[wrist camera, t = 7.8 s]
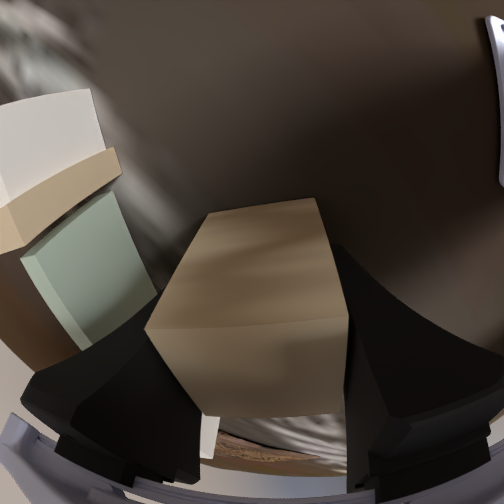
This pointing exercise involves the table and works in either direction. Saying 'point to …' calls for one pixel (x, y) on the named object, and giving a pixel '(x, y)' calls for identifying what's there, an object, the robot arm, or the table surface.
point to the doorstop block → (256, 315)
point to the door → (90, 271)
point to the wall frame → (56, 175)
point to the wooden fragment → (252, 450)
